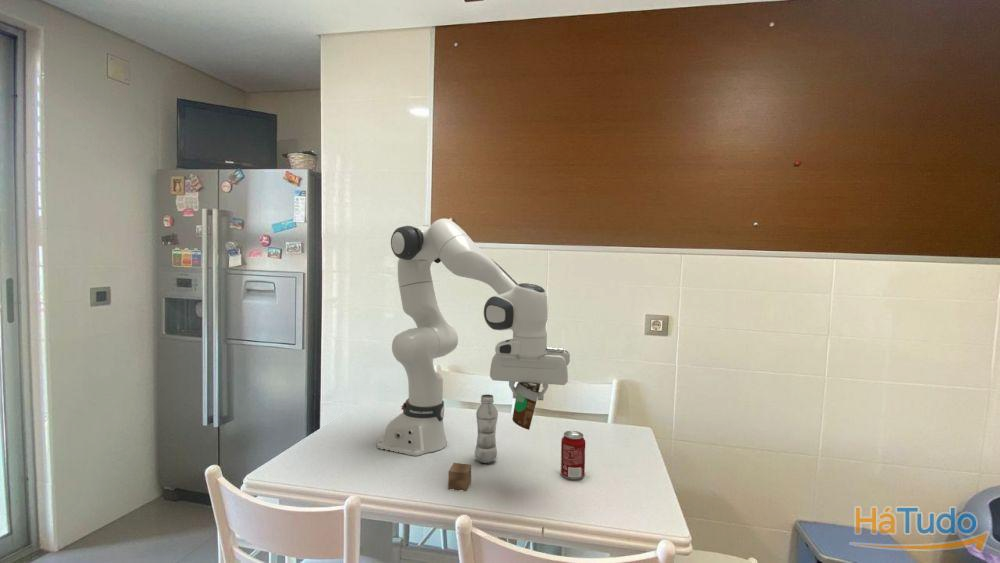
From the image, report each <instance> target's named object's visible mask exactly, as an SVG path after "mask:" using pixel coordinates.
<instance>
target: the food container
mask: <svg viewBox="0 0 1000 563" xmlns="http://www.w3.org/2000/svg"><path fill="white" fill-rule="evenodd" d="M540 388H541V384H540V383H525V382H517V384H516V386H515V390H516V392H517V396H516V398H515V401H514V402H515V403H514V407H513V411H512V412H513V413H512V418H511V419H512V422H513V423H514V424H515V425H517V426H518V427H520V428H523V429H525V430H527V431H528V430H529V431H530V429H531V426H532V420H533V417H534V413H535V409H536V405H537V401H538V392H540Z"/></svg>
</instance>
